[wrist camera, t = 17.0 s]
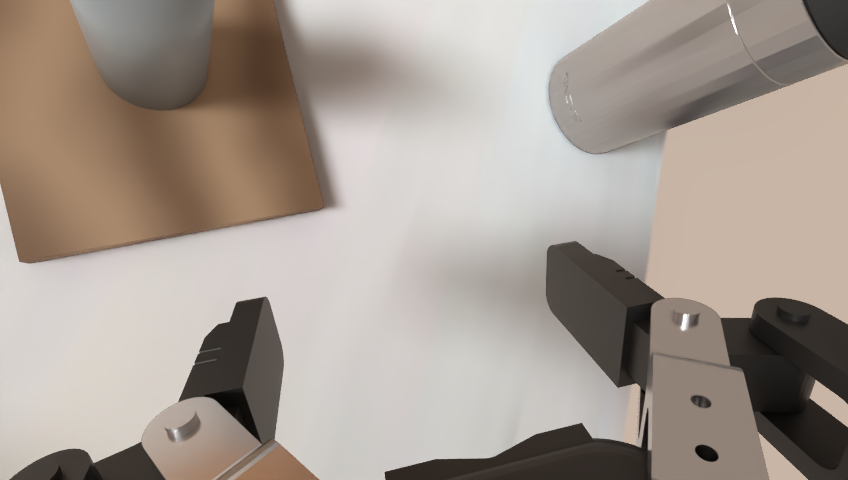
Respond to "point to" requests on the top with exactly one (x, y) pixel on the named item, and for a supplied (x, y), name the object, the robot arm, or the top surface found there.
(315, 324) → the top surface
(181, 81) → the slate bottle
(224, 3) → the walnut board
